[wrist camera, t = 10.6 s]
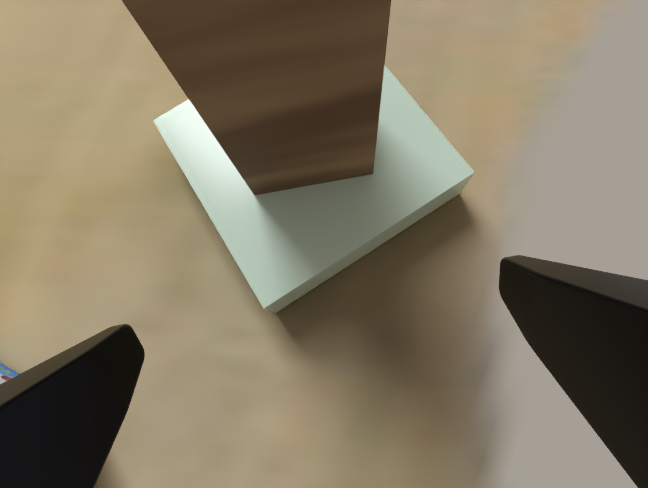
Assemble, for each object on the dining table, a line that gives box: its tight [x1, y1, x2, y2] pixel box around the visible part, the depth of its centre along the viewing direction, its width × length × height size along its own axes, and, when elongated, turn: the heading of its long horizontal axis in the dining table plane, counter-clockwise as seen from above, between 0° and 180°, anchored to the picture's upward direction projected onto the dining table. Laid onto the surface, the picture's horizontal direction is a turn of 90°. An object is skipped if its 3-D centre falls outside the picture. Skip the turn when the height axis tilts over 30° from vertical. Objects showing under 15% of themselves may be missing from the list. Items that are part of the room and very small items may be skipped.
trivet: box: [153, 65, 475, 313], centre depth 19 cm, size 11×11×2 cm
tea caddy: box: [122, 0, 391, 195], centre depth 12 cm, size 4×6×12 cm
